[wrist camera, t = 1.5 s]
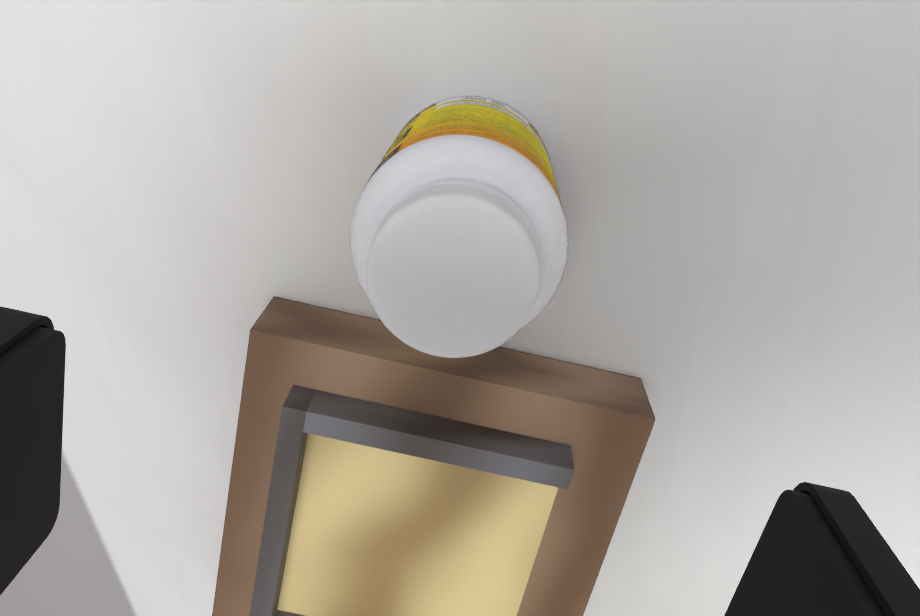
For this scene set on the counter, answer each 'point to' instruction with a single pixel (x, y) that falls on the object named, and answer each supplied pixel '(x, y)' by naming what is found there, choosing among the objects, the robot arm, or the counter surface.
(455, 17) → the counter surface
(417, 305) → the supplement bottle
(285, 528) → the frame
